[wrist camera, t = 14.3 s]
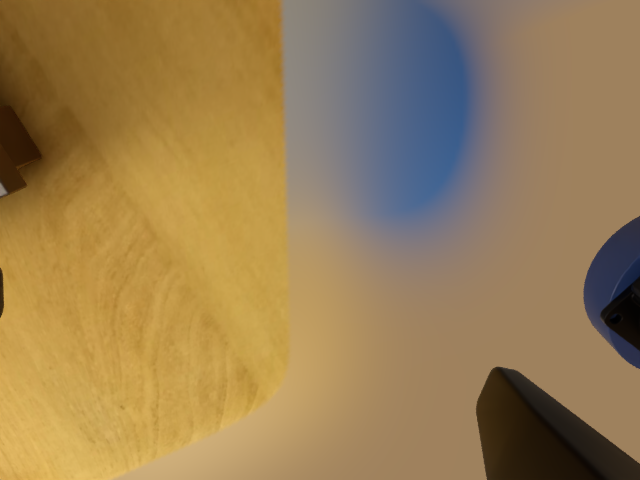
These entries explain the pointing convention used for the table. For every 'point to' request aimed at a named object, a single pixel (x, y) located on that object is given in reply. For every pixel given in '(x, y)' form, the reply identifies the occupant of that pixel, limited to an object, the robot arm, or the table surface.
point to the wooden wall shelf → (14, 152)
